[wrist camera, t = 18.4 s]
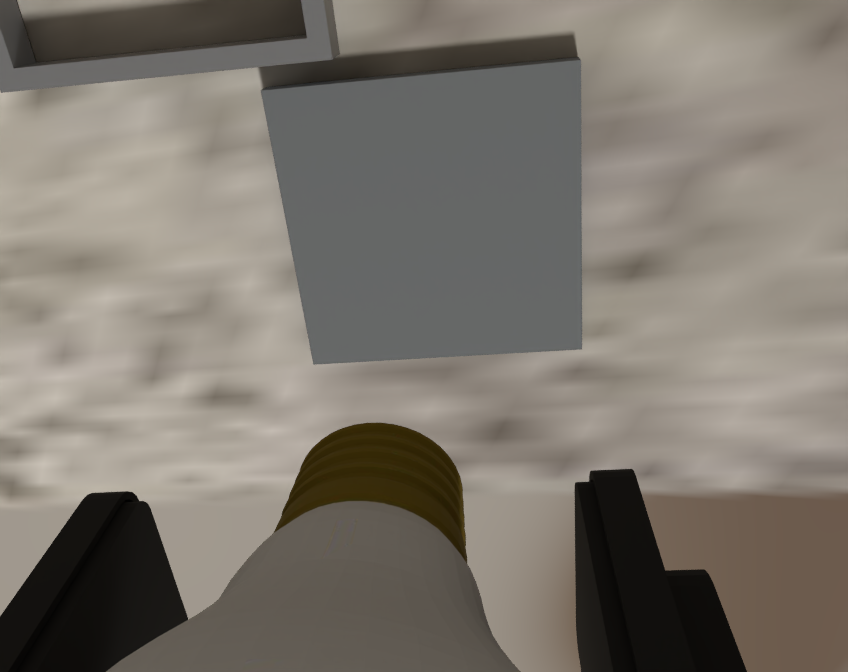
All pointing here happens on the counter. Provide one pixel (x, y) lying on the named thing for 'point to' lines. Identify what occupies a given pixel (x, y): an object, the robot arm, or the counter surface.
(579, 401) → the counter surface
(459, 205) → the mat
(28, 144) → the counter surface
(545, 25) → the counter surface
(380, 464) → the light bulb
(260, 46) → the square frame
